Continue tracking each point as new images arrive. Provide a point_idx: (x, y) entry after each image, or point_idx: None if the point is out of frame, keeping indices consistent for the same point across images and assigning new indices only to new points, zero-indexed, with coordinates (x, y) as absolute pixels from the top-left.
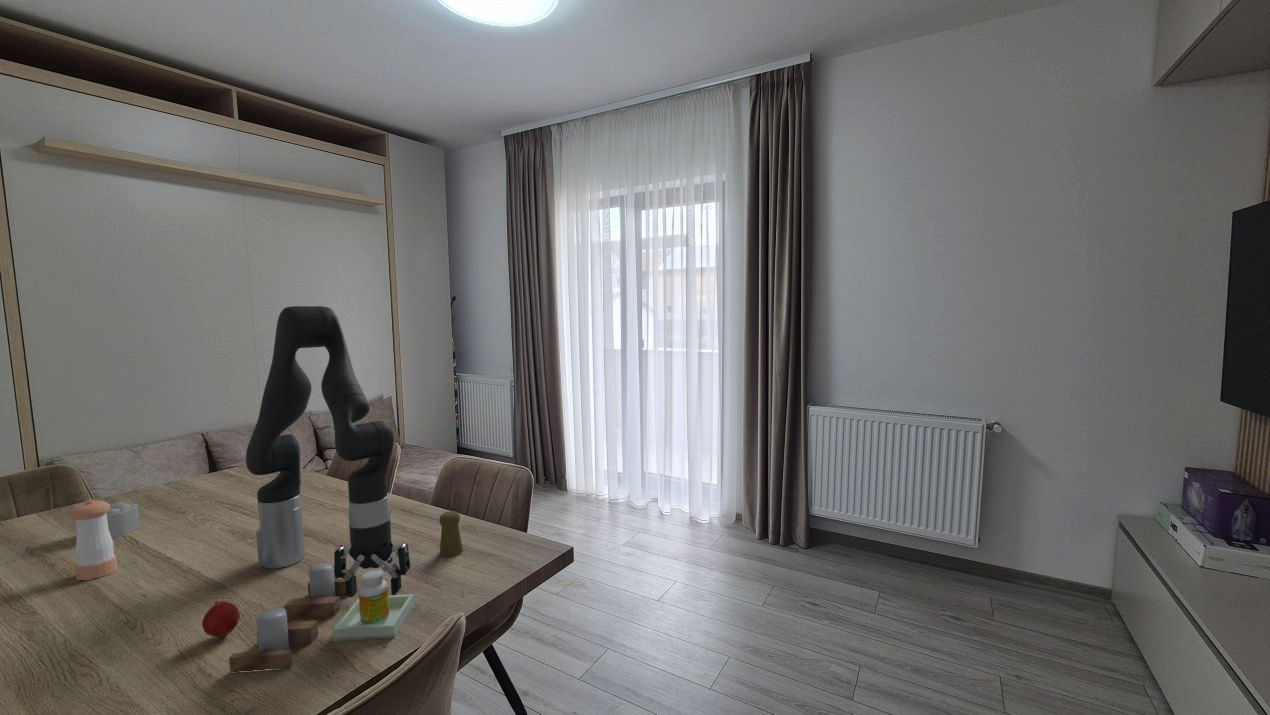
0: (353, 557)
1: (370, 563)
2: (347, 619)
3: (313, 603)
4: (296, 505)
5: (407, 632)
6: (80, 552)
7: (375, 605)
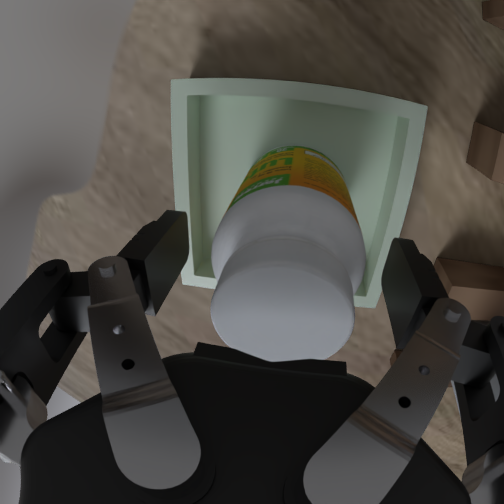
0: (436, 469)
1: (260, 396)
2: (393, 184)
3: (499, 292)
4: None
5: (156, 106)
6: None
7: (264, 170)
